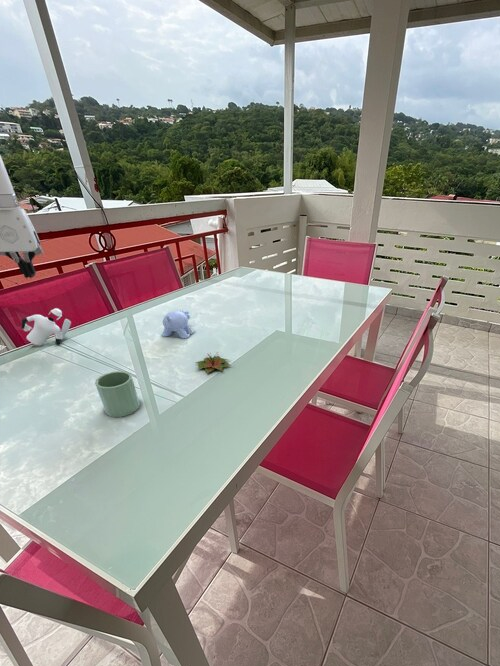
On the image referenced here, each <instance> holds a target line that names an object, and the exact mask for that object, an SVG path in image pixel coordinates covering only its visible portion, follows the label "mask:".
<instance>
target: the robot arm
mask: <svg viewBox="0 0 500 666" xmlns="http://www.w3.org/2000/svg"><path fill="white" fill-rule="evenodd" d="M37 233H38V232H37V230H36V229H35V227H34V225H33V223H32V220H31V219H30V217H29V215H28V213H27V211H26V210H25V209H24V208H23V207H21V206H20V203H19V200H18V197H17V195H16V192H15V189H14V186H13V184H12V182H11V179H10V177H9V173H8V172H7V168H6V165H5V162H4V161H3V157H2V155H1V154H0V256H3V257H7V258H9V259H11V260H12V261H13V262H14V263H16V264H17V266H18V269H19V271H20V273H21V274H22V275H23V277H24V279H28V278H30V279H32V278H34V277H35V276H36V274H37V272H36V269H35V266H34V263H33V262H32V261H33V260H34V258H35V257H36V256H40V255H42V254H44V253H45V251H44V249H43V247H42V245H41V241H40V238H39V236H38V234H37ZM20 252H21V253H22V254H21V253H20Z"/></svg>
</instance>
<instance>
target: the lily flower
mask: <svg viewBox="0 0 500 666" xmlns="http://www.w3.org/2000/svg"><path fill="white" fill-rule="evenodd" d="M218 353H219V352H218V351H217V352H216V354H215V355H212V354H211V352H209V353H207V354H206V355H207V356H206V357H204V358H203V360H198V361H195V362H194V363H195V364H197V365H199V366H198V368H197V370H199V369H200V370H201V369H205V370H204V371H205V372H206V374H209V373H210V372H212V371H214V370H219V371H221V372H223V368H225V367H232V364H231V363H229V362H227V361H229V359H227V358H223V357H221V356H220V355H219V354H218Z"/></svg>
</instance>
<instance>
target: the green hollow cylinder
mask: <svg viewBox="0 0 500 666" xmlns="http://www.w3.org/2000/svg"><path fill="white" fill-rule="evenodd" d="M94 385H95V388H96V390H97V393H98V396H99V398H100V401H101V404H102V408H103V410H104V412H105V414H106V415H107V416H109V417H113V418H122V417H126V416H129V415H131V414H133V413H135V412H136V411H137V410H138V409H139V408H140V400H139V397H138V393H137V389H136V386H135V382H134V378H133V376H132V374H131V373H130V372H127V371H122V370H121V371H120V370H118V371H110V372H107V373H104V374H102V375H100V376H99V377H97V378H96V379H95V381H94Z"/></svg>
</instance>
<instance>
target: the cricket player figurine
mask: <svg viewBox="0 0 500 666" xmlns="http://www.w3.org/2000/svg"><path fill="white" fill-rule="evenodd" d="M50 314H53V315H54V316H56V317H57V318H56V319H54V318H52V317H50V316H49V315H50ZM48 316H49V317H48ZM48 316H43V315H41V314H32V315H30V316H27V317H24V318H21V323H20V324H21V325H20V326H21V327H20V328H21V329H22V330H23V331H24V332H29V333H28V334H27V335H26V340H27V341H28V342H30V343H31V344H33V345H35V346H38V347H39V346H44V344H45V343H46V342H47V340H48V339H49V338H50V337H51V336H52V335H54V336H55V344H56V345H57V346H59V345H60V344H61V341H63V340H65V338H66V336H67V333H68V332H69V330H70V327H71V325H72V321H71V320H70V319H68V318H65V319H64V320H63V324H62V327H61V328H60V327H59V325H58V324H57V323H56V322H55V320H56V321H58V320H59V319H61V317H63V311H62V310H61V309H60V308H58V307H55V308H53V309H51V310H50V311H49V313H48ZM32 321H34V324H33V327H32V326H30V325H29V324H27V322H32Z"/></svg>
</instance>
